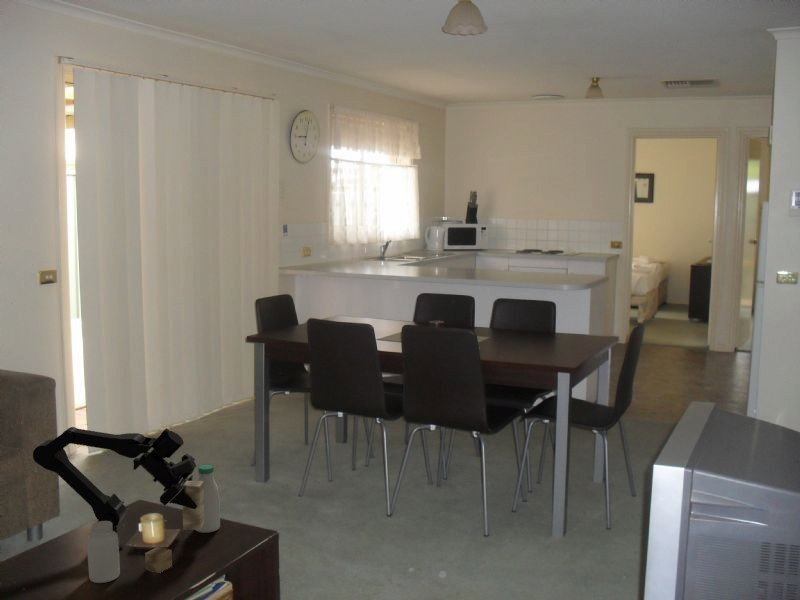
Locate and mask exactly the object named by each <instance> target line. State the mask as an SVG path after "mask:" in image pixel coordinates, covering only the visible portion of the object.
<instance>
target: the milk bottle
mask: <svg viewBox="0 0 800 600" xmlns="http://www.w3.org/2000/svg"><path fill="white" fill-rule="evenodd" d="M197 471H198V476H199V477H198V480H197V481H204V525H203V526H202V528H201V530H195V531H196V532H197V533H202V534H206V533H209V534H210V533H213V532H216V531H218V530H219V529H220V528H221V510H220V509H221V508H220V507H221V506H220V505H221V504H220V490H219V486H218V485H217V482H216V481H215V478H214V473H215V472H214V466H213V465H211V464H204V465H203V464H202V465H200V466H199V467H198V470H197Z"/></svg>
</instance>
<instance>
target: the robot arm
mask: <svg viewBox="0 0 800 600" xmlns="http://www.w3.org/2000/svg"><path fill="white" fill-rule="evenodd" d="M69 445H77V446H78V445H79V446H83V447H85V446H86V447H90V448H96V449H97V448H98V449H103V450H108V451H109V450H110V451H112V452H115V453H116V454H117V455H120V456H123V457H125V458H128V459H133V461H132V463H133V468H132V469H133V470H134V471H135V470H137V469H138V468H139V467H142V469H144V470H145V471H146V472H147V473H148V474H149V475H150V476H152V477H153V479H152V481H153V482H154V483H156V482H158V483H159V484H160V485H161V486H162V487H163V489H162V490H163V492H162V493H161V495H160V496H159V502H160V503H161V504H162V505H163V506H164V507H166V505H168V504H175V505H178V506H182V507H183V506H185V507H188V508H192V509H196V508H197V505H196V504H195V503H194V501H193V500H192V499H191V498H190V497H189V495H188V494H187V493H186V486H184V487H183V488H182V486H183V485H184V484H185V482H186V481H193V477H194V476H193V475H192V474H193V473H194V470H195V468H196V467H197V464H196V462H195V460H196V459H195V457H193V456H192V455H190V454H188V453H186V454H184V455H182V456H181V460H180V461H178V462H177V463H175V462H173V461H169V462H168V460H166V458H167V459H169V458H171V457H173V455H174V454H175V453H176V452H177V451H178V450H180V448H182V446H183V445H184V440H183V438H182V436H181V435H179V433H176V432H175V431H172V430H170V429H168V428H165V429H164V430H163V431H162V432H161V433H160V434H159V435H158V437H150V436H149V437H148V436H145V435H144V434H143V433H139V432H136V433H132V432H131V433H130V432H129V433H127V432H126V433H121V434H114V433H113V434H112V433H108V432H101V431H95V430H90V429H89V430H88V429H82V428H77V427H75V426H73V427H72V426H70V427H68V428H66V429H65V430H64V431H63V432H62V433H61V434H60V435H58V436H57V437H56V438H54V439H47V440H45V441H44V442H41V444H39V445H38V446H36V447H35V448H34V449H33V452H32V459H33V461H34V462H35V463H36V464H37V465H39V466H40V467H42V468H43V469H45V470H47V471H50V472H53V473H55V474H57V475H58V476H59V478H61V479H62V480H63V481H64V482H65V483H66V484H67V485H68V486H69V487H70V488H71V489H72V490H73V491H74V492H75V493H77V495H79V496H80V498H82V500H84V501H85V502H86V503H87V504H88V505H89V506H90V507H91V509H92V511H93V514H94V516H95V518H96V519H97V522H100V521H110V522H112V527H113V528H112V529H113V530H112V531H114V532H116V533H117V534H118V527H117V526H118V525H119V524H120V522H121V521H122V520H123V519H124V517H125V516H126V513H127V508H126V506H125V505H124V503H125V501H123V500H121V499H120V498H119V497H118V495H117V494H115V493H113V494H112V495H111V496H109V495H107V494H104V492H102V491H101V490H100V489H99V488H98V487H97V486H96V485H95V484H94V483H93V482H92V481H91V480H90V479H89V478H88V477H86V476H85V474H83V473H82V472H81V471H80V470H79V469H78V468H77V467H76V466H75V465H74V464H73V463H72V462H71V461H70V460H69V457H68V454H67V451H66V450H65V448H66V447H67V446H69ZM151 449H152V450H151ZM150 450H151V451H150ZM140 455H141V456H140ZM139 456H140V457H139ZM190 475H191V476H190ZM189 476H190V477H189ZM118 545H119V551H121V550H123V549H124V547H123V546H122V545H120V544H118Z"/></svg>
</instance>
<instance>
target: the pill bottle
mask: <svg viewBox="0 0 800 600" xmlns="http://www.w3.org/2000/svg"><path fill="white" fill-rule="evenodd" d="M112 528H113V527H112V522H110V521H100V522H98V521H97V522H94V523H93V524H92V525H91V534H90V535H89V536H88V537H87V540H86V547H87V548H86V549H87V565H88V567H87V568H88V576H89V580H90V581H91V583H96V584H103V583H108V582H112V581H114V580H116V579H118V577H120V574H121V569H120V567H121V566H120V565H121V564H120V550H119V545H120V544H119V535H118V532H117V533H116V532H114V531H112V530H113V529H112Z"/></svg>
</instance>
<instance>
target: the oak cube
mask: <svg viewBox="0 0 800 600" xmlns="http://www.w3.org/2000/svg"><path fill="white" fill-rule="evenodd" d="M144 555H145V556H144V557H145V558H144V559H145V570H146V569H147V570H149V571H148V572H151V571H153V572H152V573H154V572H156V573H155V574H157V573H160V574H161V572H162V573H163V571H164V570H166V569H167V570H169V569H170V567H171V566H172V567H173V551H172V549H168V548H165V547H162V546H157V547H154V548H152V549H151V550H148V551H147V552H145V553H144ZM172 567H171V568H172ZM168 568H169V569H168ZM147 570H146V571H147ZM167 570H166V571H167ZM164 572H165V571H164Z"/></svg>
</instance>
